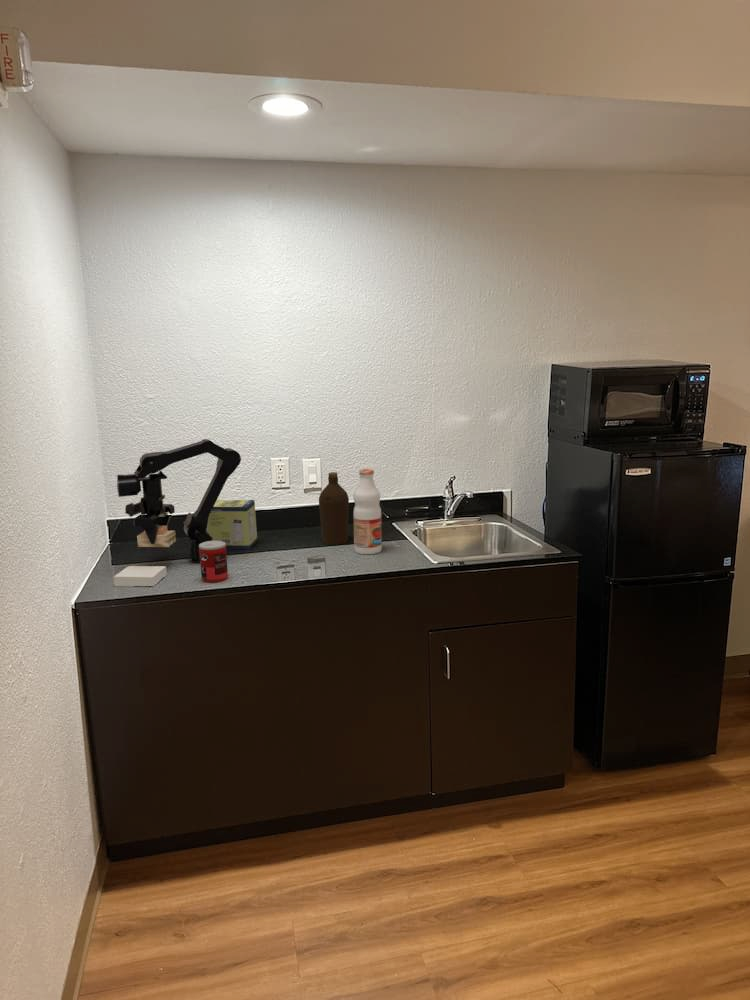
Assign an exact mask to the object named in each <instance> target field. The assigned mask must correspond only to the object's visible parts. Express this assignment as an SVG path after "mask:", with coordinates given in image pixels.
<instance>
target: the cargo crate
mask: <svg viewBox="0 0 750 1000" xmlns="http://www.w3.org/2000/svg"><path fill="white" fill-rule="evenodd" d="M143 530H144V529H143ZM168 531H169V530H168V526H159V527H158V532H157V535H164V534H165V533H167V532H168ZM143 532H145V530H144V531H143ZM145 535H147V534H146V532H145Z"/></svg>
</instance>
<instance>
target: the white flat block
mask: <svg viewBox="0 0 750 1000" xmlns="http://www.w3.org/2000/svg"><path fill="white" fill-rule="evenodd" d="M167 573H168V572H167V566H166V565H165V566H163V565H162V566H161V565H154V566H153V565H152V566H150V565H128V566H127V567H125V568H124V569H123V570H121V571H119V572H118V573H117V574H115V575H114V576H113V581H114V582H113V583H114V587H133V586H154V585H155V584H156V585H158V584H159V583H160V582H161V581H162V580H163V579H164V578H163V577H165V576H166V575H168V574H167ZM166 577H167V576H166ZM166 577H165V578H166ZM162 578H163V579H162ZM161 579H162V580H161ZM160 580H161V581H160ZM159 581H160V582H159ZM158 582H159V583H158ZM157 583H158V584H157ZM156 585H155V586H156ZM155 586H154V587H155Z"/></svg>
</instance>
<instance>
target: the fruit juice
mask: <svg viewBox="0 0 750 1000" xmlns="http://www.w3.org/2000/svg"><path fill="white" fill-rule="evenodd" d="M374 475H375V472H374V469H371V468H370V469H369V468H365V469H360V470H359V471H358V476H359V481H358V482H359V483H358V486H357V487H356V489H355V490H354V491H353V502H354V507H353V515H352V517H353V544H354V545H353V546H354V547H353V548H354V552H355V553H357V554H359V555H374V554H378V553H380V552H382V548H383V547H382V546H383V545H382V543H383V542H382V541H383V539H382V535H383V534H382V509H381V506H380V501H381V492H380V490H379V489H378V488H377V486H376V484H375V482H374Z"/></svg>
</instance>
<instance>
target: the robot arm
mask: <svg viewBox="0 0 750 1000" xmlns="http://www.w3.org/2000/svg"><path fill="white" fill-rule="evenodd" d="M204 454H209V455H212V456H214V457H216V458H217V462H216V467H215V472H214V475H213V476H212V478H211V480H210V483H208V486H207V489H206V491H205V493H204V494H203V496H202V499H201V501H200V503H199V505H198V507H197V509H196V510H195V511H194V512H193V513H191V512H190V511H189V512H188V513H187V516H186V519H185V521H183V524H184V525H183V530H184V533H185V534H186V536H187V538H189V539H190V540H191V542H190V546H189V555H190V560H189V561H190V563H200V555H199V544H201V543H203V542H207V541H212V539H213V538H212V537H211V536H210V534H209V533H208V532H207V531H206V528H207V524H208V518H209V515H210V513H211V511H212V509H213V506H214V504H215V502H216V500H218V498H219V497H220V494H221V492H222V490H223V488H224V486H225V484H226V481H227V480H228V478H229V477H231V475H232V474H233V473H234V472H235V471H236V469H237V468H238V467H239V465H240V464H241V462H242V461H241V460H242V457H241V454H240V453H239V452H238V451H236V450H234V449H233V448H229V447H225V448H224V447H223V446H220V445H218V444H216V443H215V442H213V441H212V440H210V439H207V438H203V439H202V440H199V441H197V442H194V443H190V444H187V445H183V446H181V447H176V448H174V449H170V450H167V451H154V452H148V453H144V454H142V455H141V457H140V458H139V464H138V466H137V468H136V469H135V471H134V472H133V473H132V474H130V473H129V474H117V475H116V480H117V482H116V483H117V484H116V489H117V496H118V497H119V498H122V497H130V496H131V497H132V496H138V494H140V492H142V495H143V496H142V497H141V498H140V501H139V502H136V503H133V502H130V503H129V504H128V503H127V504H126V505H125V512H124V513H125V514H127V515H128V517H129V518H132V517H133V516H136V517H134V519H133V520H132V521H133V522H132V523H133V527H139V528H142V529H143V530H145V532H146V534H147V536H148V538H149V541H150V543H151V544H155V540H156V536H157V532H158V527H159V526H167V527H168V526H169V523H170V520H171V518H172V514H174V513H175V512H176V511H175V506H174V505H173V504H172V503H164V501H163V500H164V499H166V495H165V494H163V487H162V480H166V479H168V476H167V475H166V474H164V473H163V471H162V470H164V469H166V468H167V467H168V466H171V465H172V464H174V463H178V462H180V461H185V460H188V459H190V458H194V457H196V456H197V457H198V456H201V455H204ZM141 482H142V483H141ZM141 485H142V487H141ZM168 513H169V514H168Z"/></svg>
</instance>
